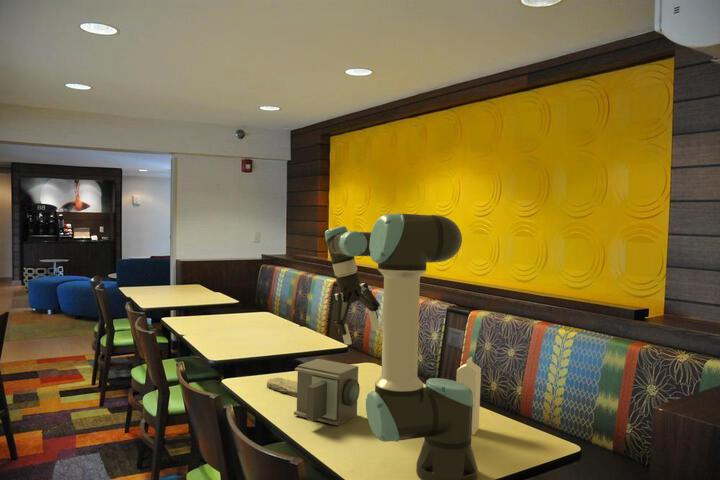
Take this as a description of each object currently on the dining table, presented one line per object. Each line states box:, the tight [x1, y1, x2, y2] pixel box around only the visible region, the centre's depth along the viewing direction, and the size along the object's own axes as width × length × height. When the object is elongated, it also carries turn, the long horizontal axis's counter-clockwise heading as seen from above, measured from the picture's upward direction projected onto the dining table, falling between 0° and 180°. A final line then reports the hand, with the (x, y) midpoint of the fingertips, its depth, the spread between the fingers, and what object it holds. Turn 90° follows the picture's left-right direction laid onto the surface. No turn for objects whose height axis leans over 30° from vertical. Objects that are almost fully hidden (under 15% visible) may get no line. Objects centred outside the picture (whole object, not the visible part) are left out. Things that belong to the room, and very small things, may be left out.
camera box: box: [293, 358, 361, 427], centre depth 176 cm, size 18×12×16 cm
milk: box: [455, 356, 482, 436], centre depth 168 cm, size 6×6×22 cm
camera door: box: [306, 375, 338, 422], centre depth 167 cm, size 9×8×12 cm
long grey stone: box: [266, 377, 297, 398], centre depth 198 cm, size 35×5×10 cm
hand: (362, 337), depth 180 cm, fingers open, 13 cm apart
